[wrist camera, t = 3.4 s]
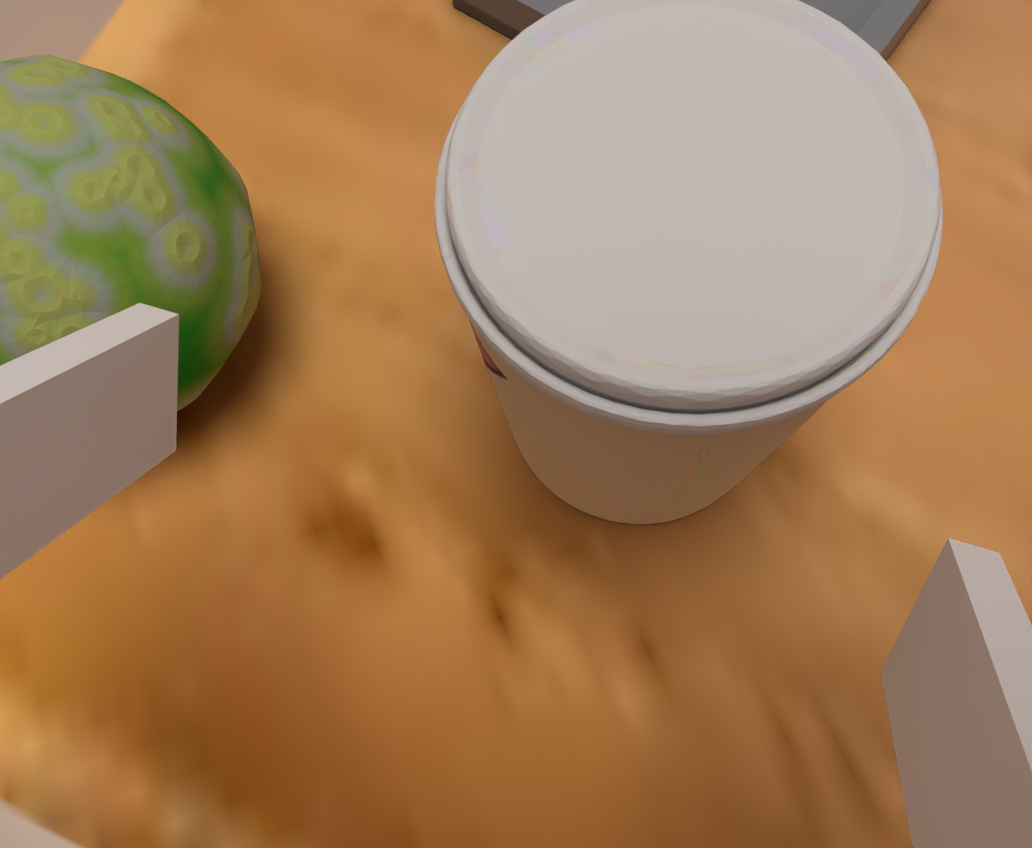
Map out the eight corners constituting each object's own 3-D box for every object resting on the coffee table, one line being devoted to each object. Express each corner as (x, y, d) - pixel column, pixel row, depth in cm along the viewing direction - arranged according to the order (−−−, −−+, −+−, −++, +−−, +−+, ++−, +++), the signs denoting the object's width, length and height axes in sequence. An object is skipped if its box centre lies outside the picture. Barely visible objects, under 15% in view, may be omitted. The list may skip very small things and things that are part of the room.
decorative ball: (238, 515, 27) (61, 395, 17) (-55, 436, 28) (-371, 283, 18) (345, 234, 30) (245, 0, 20) (76, 175, 31) (-137, -71, 21)
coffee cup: (548, 230, 29) (542, -87, 18) (827, 322, 28) (1013, 38, 16) (434, 486, 27) (341, 302, 15) (736, 603, 25) (883, 495, 14)
